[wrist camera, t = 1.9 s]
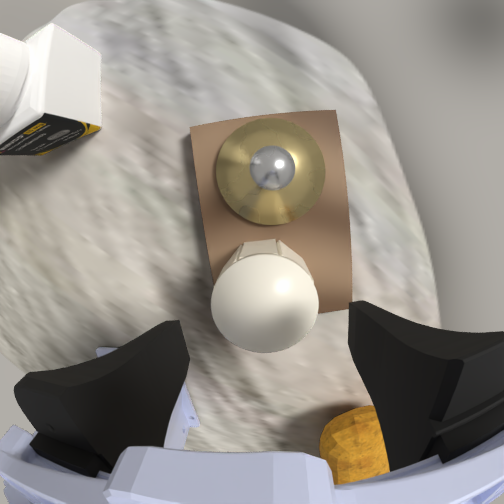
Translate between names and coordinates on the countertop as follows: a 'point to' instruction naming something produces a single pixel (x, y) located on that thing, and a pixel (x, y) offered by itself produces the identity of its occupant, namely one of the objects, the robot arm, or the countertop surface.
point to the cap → (264, 297)
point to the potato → (354, 446)
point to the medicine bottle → (47, 91)
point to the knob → (270, 171)
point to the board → (292, 233)
